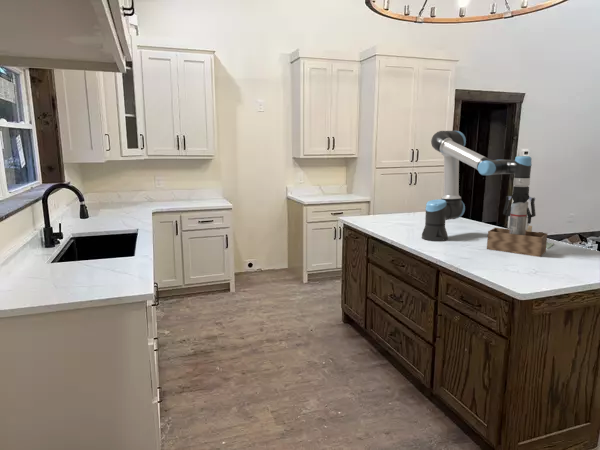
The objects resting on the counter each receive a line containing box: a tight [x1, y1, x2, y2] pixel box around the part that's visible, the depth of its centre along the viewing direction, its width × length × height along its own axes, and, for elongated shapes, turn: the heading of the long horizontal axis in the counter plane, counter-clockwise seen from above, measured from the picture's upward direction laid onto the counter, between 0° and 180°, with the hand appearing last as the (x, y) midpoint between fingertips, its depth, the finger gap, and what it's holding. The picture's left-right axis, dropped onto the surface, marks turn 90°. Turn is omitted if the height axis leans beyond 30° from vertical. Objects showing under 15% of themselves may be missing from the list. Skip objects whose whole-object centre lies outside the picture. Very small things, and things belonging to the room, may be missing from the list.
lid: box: [526, 224, 555, 250], centre depth 237 cm, size 26×12×10 cm, turn 45°
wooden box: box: [486, 227, 548, 258], centre depth 221 cm, size 26×12×10 cm, turn 49°
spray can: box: [508, 200, 529, 236], centre depth 219 cm, size 8×8×20 cm
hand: (517, 228), depth 220 cm, fingers closed on spray can, 8 cm apart
